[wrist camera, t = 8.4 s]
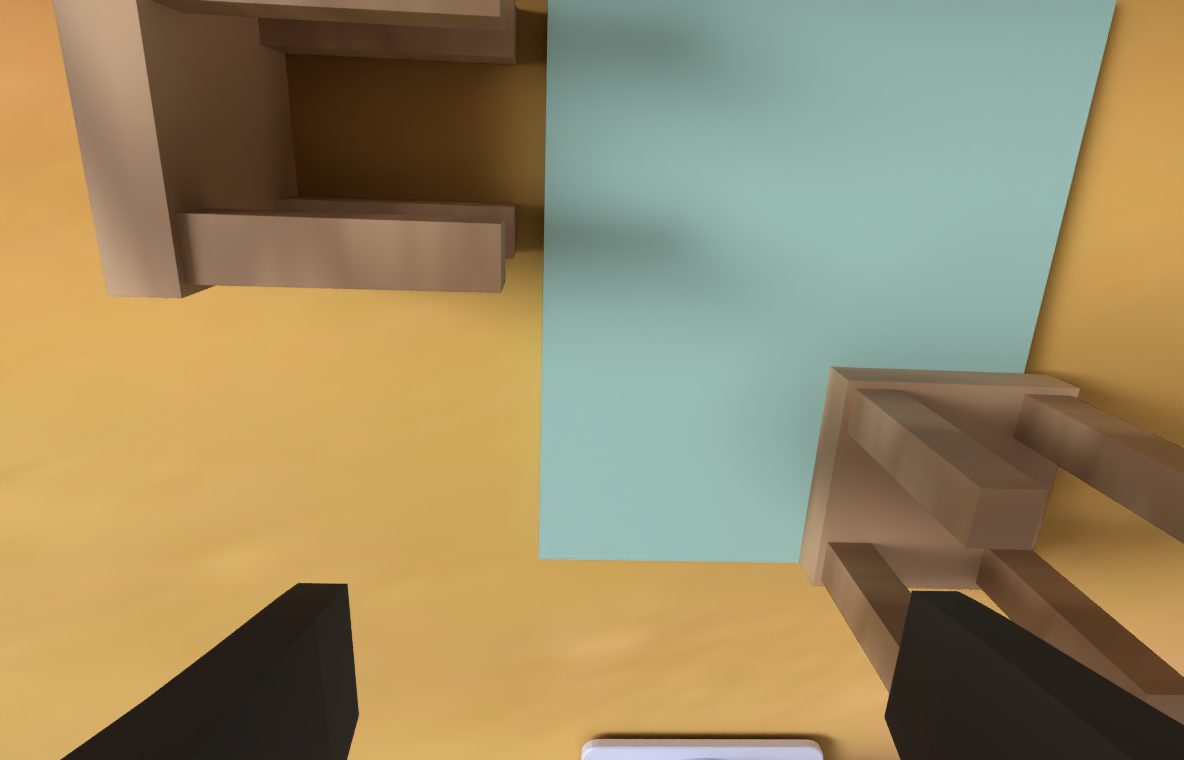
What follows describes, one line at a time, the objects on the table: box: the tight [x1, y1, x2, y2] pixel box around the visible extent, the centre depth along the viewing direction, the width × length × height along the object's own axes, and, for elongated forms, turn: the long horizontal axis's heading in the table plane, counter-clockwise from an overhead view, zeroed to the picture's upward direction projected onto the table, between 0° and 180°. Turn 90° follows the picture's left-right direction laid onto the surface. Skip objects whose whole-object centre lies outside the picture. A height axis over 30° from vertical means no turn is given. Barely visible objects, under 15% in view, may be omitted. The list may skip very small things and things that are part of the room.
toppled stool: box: [52, 0, 516, 298], centre depth 13 cm, size 6×6×7 cm
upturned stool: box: [799, 367, 1184, 725], centre depth 16 cm, size 6×6×7 cm
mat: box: [539, 0, 1117, 563], centre depth 18 cm, size 15×13×1 cm
